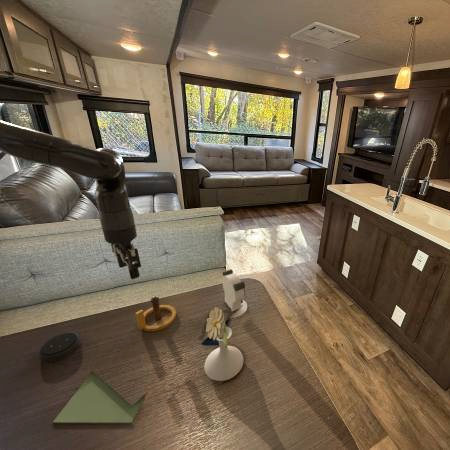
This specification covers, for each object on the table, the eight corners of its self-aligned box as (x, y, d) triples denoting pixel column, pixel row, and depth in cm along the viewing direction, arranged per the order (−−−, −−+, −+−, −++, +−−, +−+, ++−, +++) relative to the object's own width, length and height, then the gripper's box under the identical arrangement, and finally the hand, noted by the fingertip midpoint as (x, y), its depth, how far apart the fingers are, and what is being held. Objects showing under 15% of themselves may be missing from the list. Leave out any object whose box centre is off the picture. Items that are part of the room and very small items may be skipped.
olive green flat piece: (53, 423, 59) (52, 422, 59) (92, 371, 71) (92, 370, 70) (131, 423, 60) (131, 422, 60) (157, 372, 72) (157, 371, 72)
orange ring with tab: (129, 324, 85) (125, 306, 82) (162, 303, 95) (159, 287, 92) (150, 338, 81) (147, 320, 78) (182, 315, 91) (180, 298, 88)
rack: (140, 324, 87) (135, 299, 83) (161, 310, 94) (157, 286, 89) (155, 334, 84) (150, 308, 80) (176, 319, 91) (172, 294, 86)
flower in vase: (206, 353, 79) (201, 290, 69) (242, 347, 82) (242, 287, 72) (202, 394, 68) (194, 326, 58) (244, 386, 71) (244, 320, 61)
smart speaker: (40, 351, 75) (36, 342, 73) (79, 335, 81) (75, 326, 79) (44, 371, 69) (39, 362, 68) (84, 352, 76) (81, 343, 74)
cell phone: (230, 314, 95) (230, 313, 95) (222, 345, 82) (222, 343, 82) (211, 314, 94) (211, 312, 94) (200, 345, 82) (200, 343, 81)
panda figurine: (253, 311, 98) (254, 279, 92) (226, 323, 90) (225, 290, 85) (239, 295, 106) (239, 265, 100) (213, 305, 99) (211, 273, 93)
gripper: (93, 219, 70) (106, 267, 76) (112, 235, 62) (124, 287, 69) (123, 213, 75) (133, 258, 82) (144, 227, 68) (153, 276, 74)
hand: (129, 271), depth 75 cm, fingers open, 8 cm apart
